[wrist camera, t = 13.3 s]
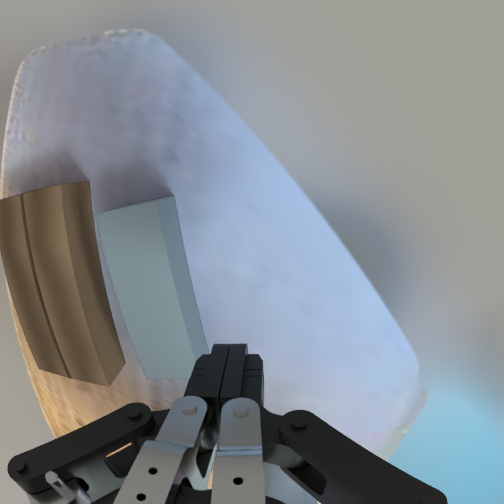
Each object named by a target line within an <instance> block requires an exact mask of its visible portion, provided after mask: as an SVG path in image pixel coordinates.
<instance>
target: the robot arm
mask: <svg viewBox="0 0 504 504" xmlns="http://www.w3.org/2000/svg"><path fill="white" fill-rule="evenodd" d="M263 404H264V374H263V361H262V359H261V358H260V356H259V354H248V346H247V344H231V345H230V344H214V345H213V348H212V351H211V354H202V355H201V356H200V357H199V358H198V359H197V360H196V362H195V365H194V368H193V371H192V373H191V376H190V379H189V382H188V385H187V388H186V391H185V393H184V396H183V397H182V398H179V399H178V400H176V401H175V402H174V403H173V405H172V407H171V408H170V409H167V410H160V411H152V412H151V409H150V408H149V407H148V406H147V405H145V404H143V403H130V404H127V405H125V406H123V407H121V408H120V409H118V410H116V411H114V412H112V413H110V414H108V415H106V416H104V417H102V418H100V419H98V420H96V421H94V422H92V423H89V424H87V425H85V426H83V427H81V428H79V429H77V430H75V431H73V432H70V433H68V434H66V435H64V436H62V437H59V438H57V439H55V440H53V441H50V442H48V443H46V444H43V445H41V446H39V447H36V448H34V449H32V450H29V451H26V452H24V453H21V454H19V455H16V456H14V457H13V458H12V459H11V460H10V462H9V464H8V473H9V475H10V477H11V478H12V479H13V480H14V481H15V482H16V483H17V484H18V485H19V486H20V487H21V488H22V489H23V490H24V491H25V492H26V493H27V495H28V498H29V500H30V503H31V504H317V501H319V502H320V503H321V504H448V503H447V498H446V496H445V495H444V494H443V493H442V492H441V491H439V490H437V489H435V488H433V487H432V486H429V485H428V484H426V483H424V482H422V481H420V480H418V479H416V478H414V477H412V476H410V475H409V474H407V473H405V472H404V471H402V470H400V469H398V468H397V467H395V466H393V465H391V464H390V463H388V462H386V461H385V460H383V459H381V458H380V457H378V456H376V455H375V454H373V453H371V452H370V451H368V450H367V449H365V448H363V447H362V446H360V445H359V444H357V443H356V442H354V441H353V440H351V439H349V438H348V437H346V436H345V435H343V434H342V433H340V432H339V431H337V430H336V429H335V428H333V427H332V426H330V425H329V424H327V423H326V422H324V421H323V420H322V419H320V418H319V417H317V416H316V415H314V414H313V413H311V412H309V411H305V410H294V411H290V412H288V413H286V414H285V415H283V416H281V415H276V414H273V413H271V412H269V411H267V410H266V409H265V408H264V407H263ZM218 434H220V438H219V449H218V450H217V439H218ZM130 442H131V443H132V445H130V446H128V447H126V448H124V449H122V450H121V451H119V452H117V453H115V454H113V455H111V456H109V457H106V456H107V455H108V454H110V453H112V452H114V451H116V450H118V449H119V448H121V447H123V446H125V445H127V444H129V443H130ZM213 462H214V470H213V483H212V489H211V490H208V489H207V484H208V479H209V476H210V473H211V469H212V466H213ZM95 500H96V501H95ZM93 501H94V502H93ZM91 502H92V503H91Z"/></svg>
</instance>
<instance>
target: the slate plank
mask: <svg viewBox="0 0 504 504" xmlns="http://www.w3.org/2000/svg"><path fill="white" fill-rule="evenodd" d="M95 216H96V221H97V225H98V230H99V234H100V239H101V243H102V247H103V251H104V255H105V259H106V263H107V267H108V270H109V274H110V277H111V281H112V284H113V288H114V291H115V294H116V298H117V301H118V304H119V307H120V310H121V313H122V316H123V319H124V322H125V325H126V328H127V331H128V333H129V336H130V339H131V341H132V344H133V347H134V349H135V352H136V355H137V357H138V360H139V362H140V365H141V367H142V369H143V372H144V374H145V377H146V378H154V379H190V376H191V373H192V371H193V368H194V365H195V362H196V360H197V359H198V358H199V357H200V356H201V355H202V354H209V350H208V347H207V343H206V339H205V335H204V331H203V327H202V323H201V319H200V315H199V311H198V307H197V303H196V299H195V295H194V290H193V286H192V282H191V277H190V273H189V268H188V263H187V259H186V254H185V249H184V244H183V239H182V234H181V229H180V224H179V219H178V213H177V208H176V202H175V196H170V197H165V198H160V199H155V200H150V201H145V202H140V203H136V204H131V205H127V206H122V207H118V208H115V209H112V210H108V211H105V212H102V213H99V214H95Z"/></svg>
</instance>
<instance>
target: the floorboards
mask: <svg viewBox="0 0 504 504" xmlns="http://www.w3.org/2000/svg"><path fill="white" fill-rule="evenodd" d="M0 251H1V256H2V261H3V265H4V269H5V274H6V278H7V281H8V285H9V289H10V292H11V296H12V299H13V302H14V306H15V309H16V312H17V315H18V318H19V321H20V324H21V326H22V329H23V332H24V335H25V337H26V340H27V342H28V345H29V347H30V350H31V352H32V354H33V357H34V359H35V361H36V364H37V366H38V368H39V369H41V370H44V371H47V372H51V373H54V374H58V375H62V376H65V377H68V378H73V379H77V380H81V381H86V382H90V383H95V384H99V385H104V386H110V385H111V383H112V382H113V380H114V379H115V378H116V376H117V375H118V373H119V372H120V370H121V369H122V367H123V366H124V364H125V363H126V362H125V359H124V356H123V353H122V350H121V347H120V343H119V340H118V336H117V333H116V329H115V326H114V322H113V318H112V314H111V310H110V306H109V302H108V298H107V294H106V289H105V285H104V280H103V275H102V270H101V265H100V259H99V254H98V248H97V242H96V235H95V228H94V221H93V213H92V205H91V195H90V184H89V181H83V182H75V183H68V184H61V185H56V186H52V187H48V188H43V189H39V190H35V191H31V192H27V193H23V194H19V195H16V196H12V197H8V198H5V199H1V200H0Z"/></svg>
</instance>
